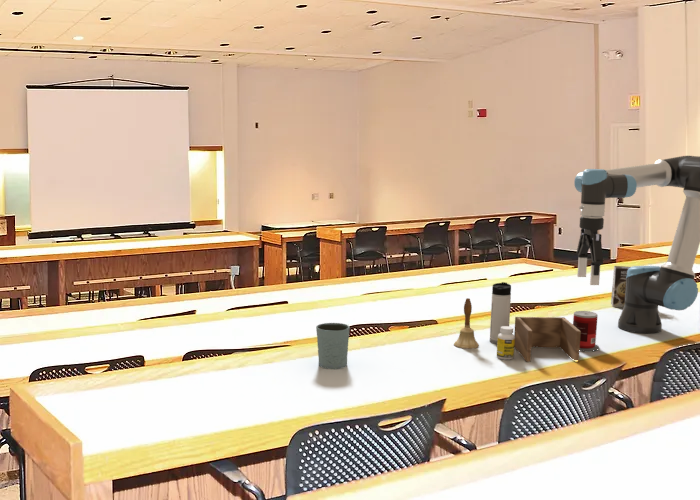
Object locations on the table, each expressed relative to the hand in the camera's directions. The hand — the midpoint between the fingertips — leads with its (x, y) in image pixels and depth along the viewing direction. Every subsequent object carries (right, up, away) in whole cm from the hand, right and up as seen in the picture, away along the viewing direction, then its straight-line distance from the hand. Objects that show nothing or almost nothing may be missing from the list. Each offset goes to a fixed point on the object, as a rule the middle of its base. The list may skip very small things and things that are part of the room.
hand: (587, 280), depth 286 cm
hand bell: (-40, -22, +3) cm, 45 cm away
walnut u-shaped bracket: (-15, -23, -6) cm, 29 cm away
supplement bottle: (-29, -24, -11) cm, 39 cm away
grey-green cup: (-84, -25, -23) cm, 90 cm away
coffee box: (+33, -13, +68) cm, 77 cm away
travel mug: (-28, -21, +8) cm, 36 cm away
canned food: (-1, -22, +3) cm, 22 cm away
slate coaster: (-1, -22, +3) cm, 23 cm away
